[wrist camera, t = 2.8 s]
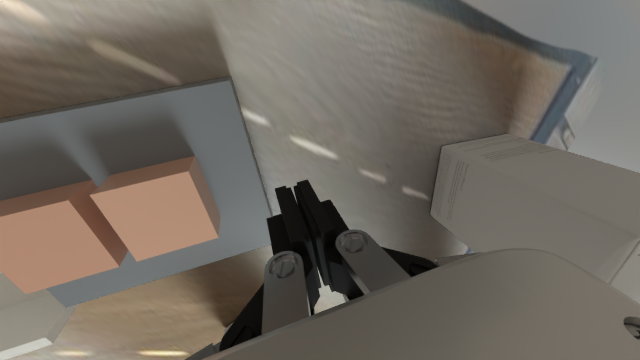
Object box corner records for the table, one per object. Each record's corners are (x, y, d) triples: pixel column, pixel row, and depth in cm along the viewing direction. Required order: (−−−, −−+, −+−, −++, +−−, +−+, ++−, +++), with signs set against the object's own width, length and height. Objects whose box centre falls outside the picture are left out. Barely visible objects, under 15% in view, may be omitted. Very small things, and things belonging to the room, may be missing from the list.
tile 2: (92, 179, 15) (68, 200, 13) (133, 240, 18) (119, 266, 15) (-5, 202, 14) (-48, 228, 12) (53, 263, 17) (25, 294, 15)
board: (231, 76, 18) (229, 80, 15) (274, 221, 24) (278, 241, 21) (-46, 126, 15) (-106, 142, 12) (87, 276, 21) (65, 307, 18)
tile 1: (194, 155, 16) (188, 171, 14) (220, 216, 19) (218, 237, 17) (110, 175, 15) (89, 195, 13) (149, 236, 18) (136, 261, 16)
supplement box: (427, 216, 30) (571, 341, 17) (439, 144, 25) (644, 238, 13) (489, 201, 32) (660, 302, 19) (510, 132, 27) (749, 201, 15)
